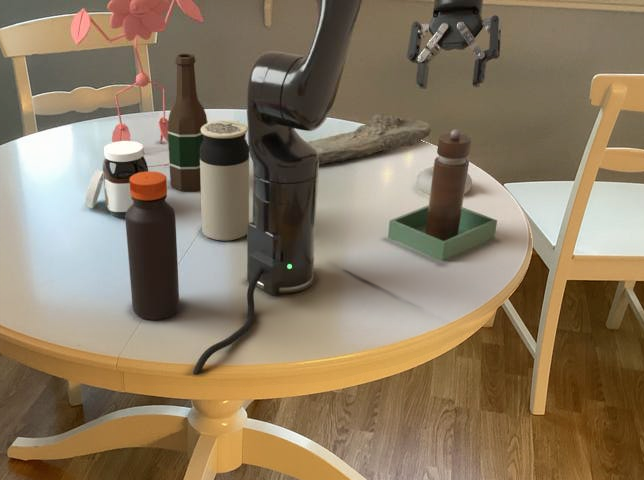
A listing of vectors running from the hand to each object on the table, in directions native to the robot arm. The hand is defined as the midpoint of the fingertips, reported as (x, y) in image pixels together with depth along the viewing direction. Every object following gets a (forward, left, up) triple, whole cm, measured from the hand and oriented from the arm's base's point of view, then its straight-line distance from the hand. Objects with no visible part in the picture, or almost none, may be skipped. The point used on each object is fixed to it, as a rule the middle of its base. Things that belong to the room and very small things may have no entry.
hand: (449, 86), depth 136 cm
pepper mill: (-7, -8, -21) cm, 24 cm away
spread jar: (-41, +38, -22) cm, 60 cm away
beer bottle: (-24, +39, -22) cm, 51 cm away
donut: (+10, +6, -22) cm, 25 cm away
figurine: (-21, +57, -22) cm, 64 cm away
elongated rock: (+14, +31, -22) cm, 40 cm away
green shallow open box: (-7, -8, -22) cm, 24 cm away
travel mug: (-32, +18, -22) cm, 43 cm away
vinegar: (-56, +4, -22) cm, 61 cm away
